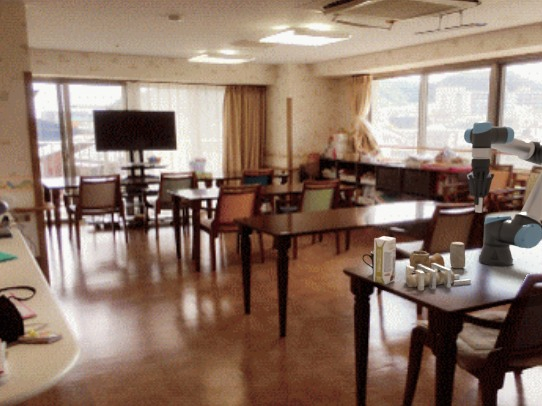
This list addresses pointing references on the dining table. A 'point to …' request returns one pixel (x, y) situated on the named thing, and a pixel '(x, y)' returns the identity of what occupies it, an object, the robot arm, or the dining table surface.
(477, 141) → the robot arm
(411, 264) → the pipe
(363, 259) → the coffee mug
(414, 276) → the dowel
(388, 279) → the juice carton
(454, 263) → the carving
